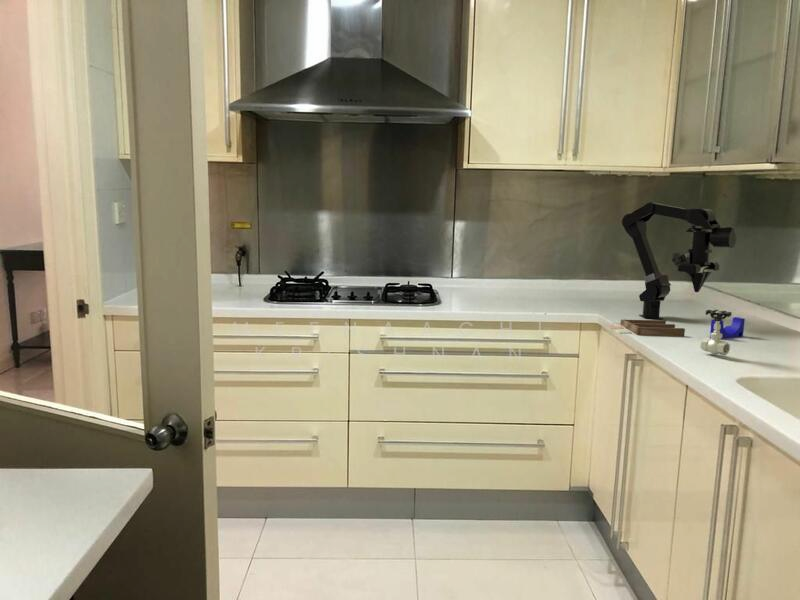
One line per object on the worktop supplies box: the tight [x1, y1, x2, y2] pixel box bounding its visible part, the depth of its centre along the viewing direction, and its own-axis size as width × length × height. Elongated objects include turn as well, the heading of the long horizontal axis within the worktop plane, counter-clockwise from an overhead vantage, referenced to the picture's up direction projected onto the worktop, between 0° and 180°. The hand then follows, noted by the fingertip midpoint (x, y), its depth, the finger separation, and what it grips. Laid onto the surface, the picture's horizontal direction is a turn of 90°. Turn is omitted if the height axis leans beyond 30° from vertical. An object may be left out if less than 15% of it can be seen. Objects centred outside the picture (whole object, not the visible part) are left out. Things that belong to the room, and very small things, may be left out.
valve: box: [700, 309, 732, 356], centre depth 181 cm, size 7×7×12 cm
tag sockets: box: [608, 319, 686, 337], centre depth 213 cm, size 15×20×2 cm
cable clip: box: [709, 316, 746, 340], centre depth 207 cm, size 12×4×6 cm, turn 118°
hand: (696, 292), depth 222 cm, fingers closed
